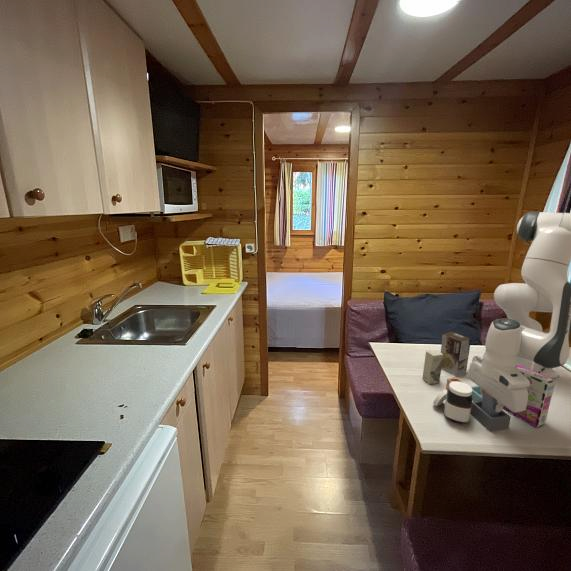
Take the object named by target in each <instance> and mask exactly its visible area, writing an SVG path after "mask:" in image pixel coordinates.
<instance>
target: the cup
mask: <svg viewBox="0 0 571 571" xmlns="http://www.w3.org/2000/svg"><path fill="white" fill-rule="evenodd" d="M453 381H458V382H463V383H465V382H464V381H463V380H461V379H460V378H459V377H451V378H447V379H446V385H445V390H448V389H449V384H450V383H451V382H453Z"/></svg>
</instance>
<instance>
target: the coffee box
mask: <svg viewBox="0 0 571 571" xmlns="http://www.w3.org/2000/svg"><path fill="white" fill-rule="evenodd" d="M471 341H472V338H470V337H468V336H465V335H463V334H460V333H458V332H454V331H449V332H446V333H443V334H442V339H441V345H440V346H441V347H440V353H442V354H443V361H442V367H441V370H443V371H446V372H447V373H449V374H451V375H453V376H455V377H460V376H462V375H465V374H467V368H468V362H469V355H470V348H471V344H472V343H471Z"/></svg>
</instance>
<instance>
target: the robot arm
mask: <svg viewBox="0 0 571 571" xmlns="http://www.w3.org/2000/svg"><path fill="white" fill-rule="evenodd" d="M516 233H517V234H516V235H517V236H516V237H518V238H519V240H521V241H523V242H525V244H528V243H531V245H530V246H529V248H528V249H527V252H526V255H525V258H524V259H523V263H522V267H521V270H520V272H521V273H520V275H521V278H522V280H523V282H524V283H523V282H522V283H521V282H510V283H503V284H499V285H498V286H497V287H496V288H495V290H494V292H493V300H494V302H495V304H496V305H497V306H498V307H500V309H501V310H502V311H503V312H504V313H505V315H506V317H507V318H506V317H505V318H504V317H503V318H502V317H501V318H497V319H494V320H493V321H492V322H491V323H490V326H489V328H488V331H487V333H486V335H487V336H486V339H485V344H484V346H485V352H484V353H483V357H481V356H479V355H476V356H475V355H474V356H473V357H472V360H471V363H470V364H469V367H468V371H467V377H468V380H470V381H471V382H472V383H474V384H475V385H476V386H479V387H480V391H481V395H482V399H481V400H483V395H484V390H486V391H487V392H488V393H490V394H491V395H492V396H493V397H494V398H495V399H496V400H497V403H498V404H497V405H493V409H494V410H495V411H496V412H501V410H503V406H506V407H507V408H508V409H509V410H511V411H512V412H522V411H524V410H525V409H526V406H527V401H528V391H527V389H526V387H529V385H530V382H529V380H528V379H527V378H526V377H525V376H524V375H523V374H522V373H521V372H520V371H519V369H518V368H517V367H516V366H517V365H520V366H523V367H525V368H527V369H530V370H532V371H535V372H537V373H539V374H542V375H544V376H546V377H549V378H551V379H553V380H555V379H557V378H559V376H560V375H559V373H558V372H557V371H556V370H555V369H554V368H559V367H563V366H565V364H566V363H567V362H568V359H569V357H570V346H571V344H570V343H571V341H570V340H571V282H569V277H568V270H569V268H570V267H569V266H570V265H571V264H570V263H571V212H552V211H546V212H545V211H543V212H540V210H539V211H538V210H537V211H536V210H535V211H527V212H526V213H524V214H523V216H522V217H521V218H520V219H519V221H518V222H517V225H516ZM530 312H540V313H551V321H550V327H549V332H544V331H543V327H542V326H543V325H542V324H541V323H540V322H539V321H537V320H535V319H534V318H531V317H530Z"/></svg>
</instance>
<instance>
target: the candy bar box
mask: <svg viewBox="0 0 571 571" xmlns="http://www.w3.org/2000/svg"><path fill="white" fill-rule="evenodd" d="M516 367H517V368H518V369H519V371H520V372H521V373H522V374H523V375H524V376H525V377H526V378H527V379H528V380H529V382H530V385H529V387H526V389H527V391H528V401H527V406H526V409H525V410H524V411H522V412H512V411H511V410H509V409H508V408H507V407H506V406H503V407H502V410H504V411H506V412H508V413H510V414H512V415H513V416H516V417H517V418H519V419H521V420H522V421H524V422H526V423H527V424H530V425H531V426H533V427H535V428H540V427H541V426H544V425H545V424H546V422H547V417H548V414H549V410H550V405H551V400H552V396H553V391H554V388H555V384H556V379H551V378H549V377H546V376H544V375H542V374H539V373H537V372H535V371H532V370H530V369H527V368H525V367H523V366H520V365H517V366H516Z"/></svg>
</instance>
